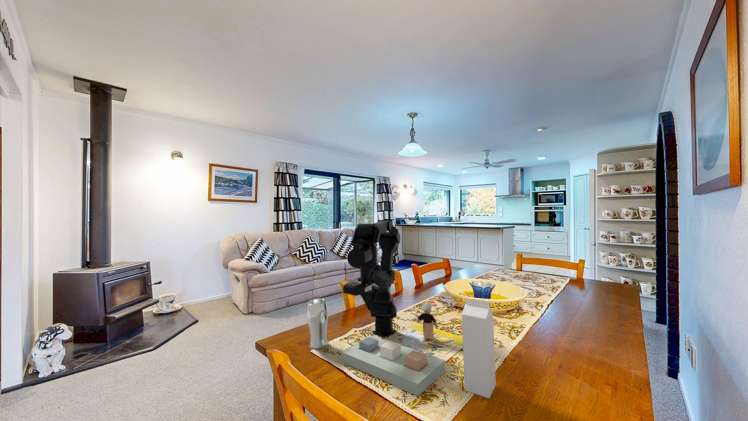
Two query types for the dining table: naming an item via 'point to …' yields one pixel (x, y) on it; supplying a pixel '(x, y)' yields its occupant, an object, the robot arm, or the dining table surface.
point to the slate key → (368, 344)
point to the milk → (478, 347)
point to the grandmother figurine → (427, 323)
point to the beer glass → (318, 322)
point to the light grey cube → (390, 351)
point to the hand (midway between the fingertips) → (370, 310)
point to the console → (394, 367)
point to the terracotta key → (416, 361)
